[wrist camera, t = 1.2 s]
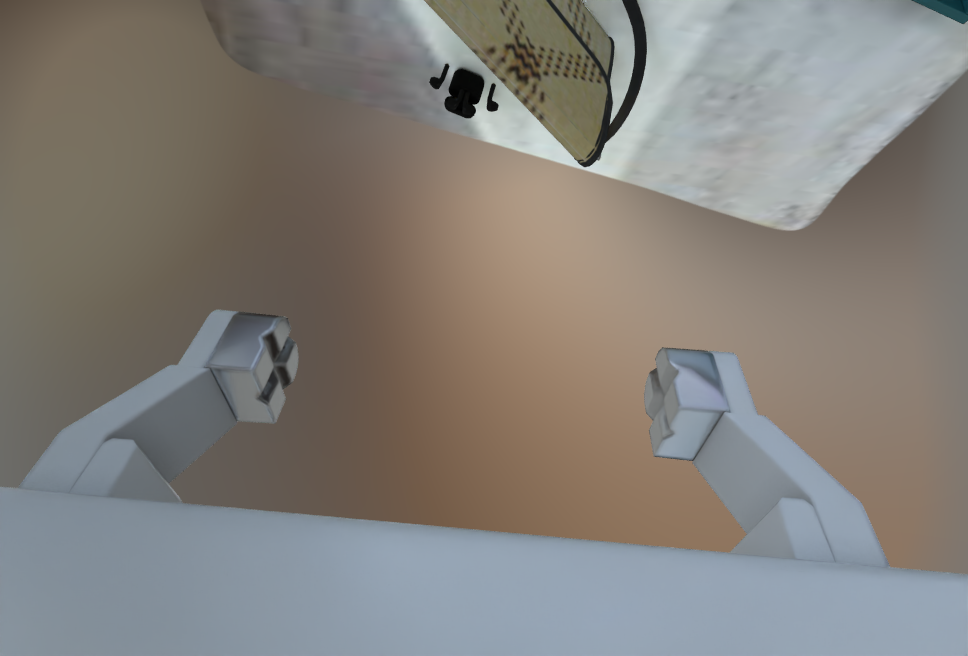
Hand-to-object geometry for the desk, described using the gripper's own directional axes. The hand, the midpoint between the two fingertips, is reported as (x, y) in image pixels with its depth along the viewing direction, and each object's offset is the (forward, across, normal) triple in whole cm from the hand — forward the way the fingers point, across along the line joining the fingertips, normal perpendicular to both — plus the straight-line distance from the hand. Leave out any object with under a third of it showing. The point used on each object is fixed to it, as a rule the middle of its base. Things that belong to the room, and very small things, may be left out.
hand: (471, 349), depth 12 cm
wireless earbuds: (+47, +4, +12) cm, 49 cm away
